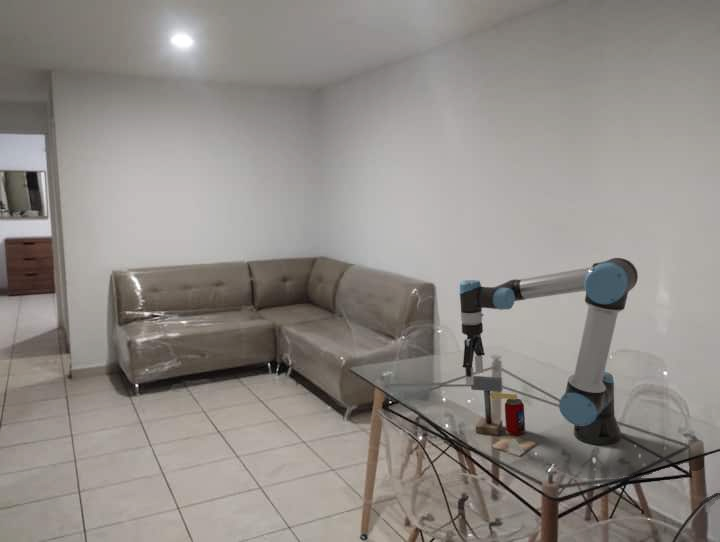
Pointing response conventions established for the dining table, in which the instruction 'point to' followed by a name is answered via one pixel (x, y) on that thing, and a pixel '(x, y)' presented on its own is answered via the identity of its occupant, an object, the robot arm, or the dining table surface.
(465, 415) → the dining table surface
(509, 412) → the beverage can
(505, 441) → the mat
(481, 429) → the latch housing
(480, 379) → the t key
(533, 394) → the dining table surface
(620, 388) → the dining table surface
